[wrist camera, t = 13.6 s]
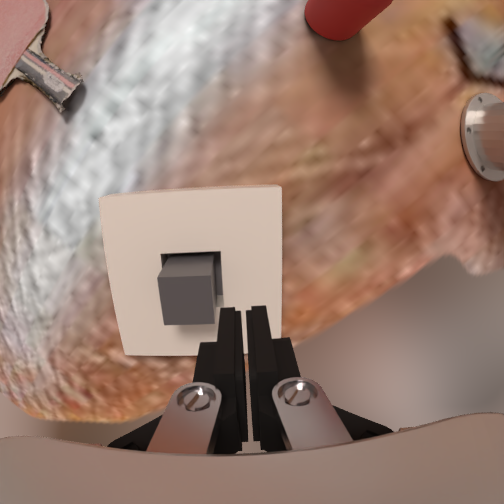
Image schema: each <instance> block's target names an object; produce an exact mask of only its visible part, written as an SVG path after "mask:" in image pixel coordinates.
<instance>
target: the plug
mask: <svg viewBox="0 0 504 504" xmlns="http://www.w3.org/2000/svg"><path fill="white" fill-rule="evenodd" d="M157 280H158V288H159V295H160V302H161V309H162V315H163V322H164V325H200V324H215V313H216V298H217V288H216V274H215V259H214V252H206V253H184V254H170V256H169V258H168V260H167V261H166V263H165V265H164V266H163V268H162V270H161V272H160V273H159V275H158V277H157Z"/></svg>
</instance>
